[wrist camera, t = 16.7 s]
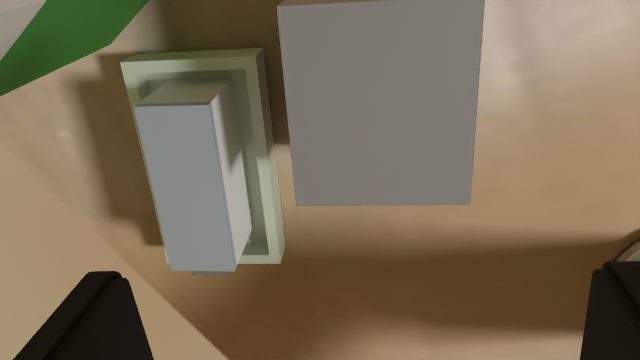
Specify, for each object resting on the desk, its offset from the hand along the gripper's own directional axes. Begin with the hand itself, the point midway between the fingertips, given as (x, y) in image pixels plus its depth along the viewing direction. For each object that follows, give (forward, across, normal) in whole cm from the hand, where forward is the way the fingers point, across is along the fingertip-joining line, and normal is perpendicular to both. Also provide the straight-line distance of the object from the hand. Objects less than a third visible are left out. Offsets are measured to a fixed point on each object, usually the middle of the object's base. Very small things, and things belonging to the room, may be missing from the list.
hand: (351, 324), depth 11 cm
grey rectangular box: (+27, 0, +2) cm, 27 cm away
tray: (+27, +12, +7) cm, 31 cm away
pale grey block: (+26, +12, +7) cm, 30 cm away
